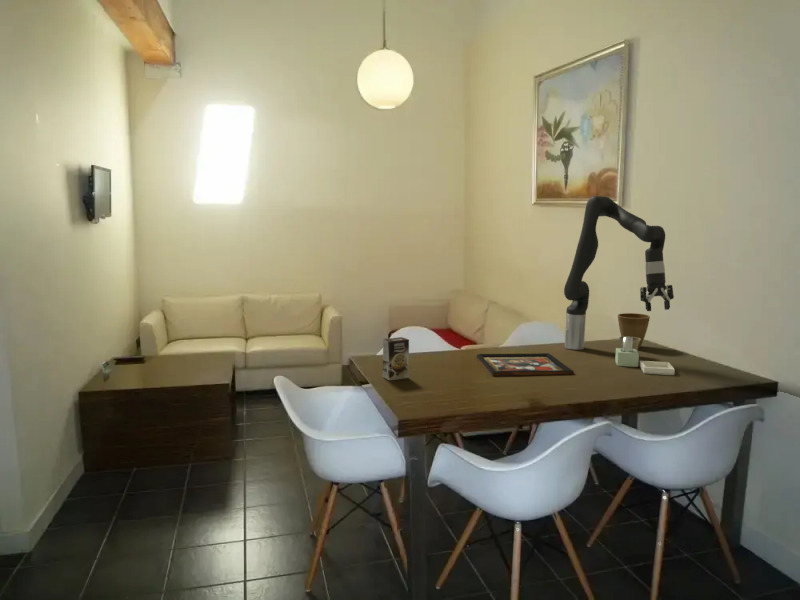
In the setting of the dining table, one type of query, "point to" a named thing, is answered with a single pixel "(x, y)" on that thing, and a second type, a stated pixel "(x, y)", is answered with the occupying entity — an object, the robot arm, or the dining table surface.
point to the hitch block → (626, 358)
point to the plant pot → (633, 325)
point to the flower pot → (634, 344)
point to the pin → (627, 344)
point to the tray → (656, 367)
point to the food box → (395, 358)
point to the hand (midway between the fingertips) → (658, 310)
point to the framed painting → (523, 364)
